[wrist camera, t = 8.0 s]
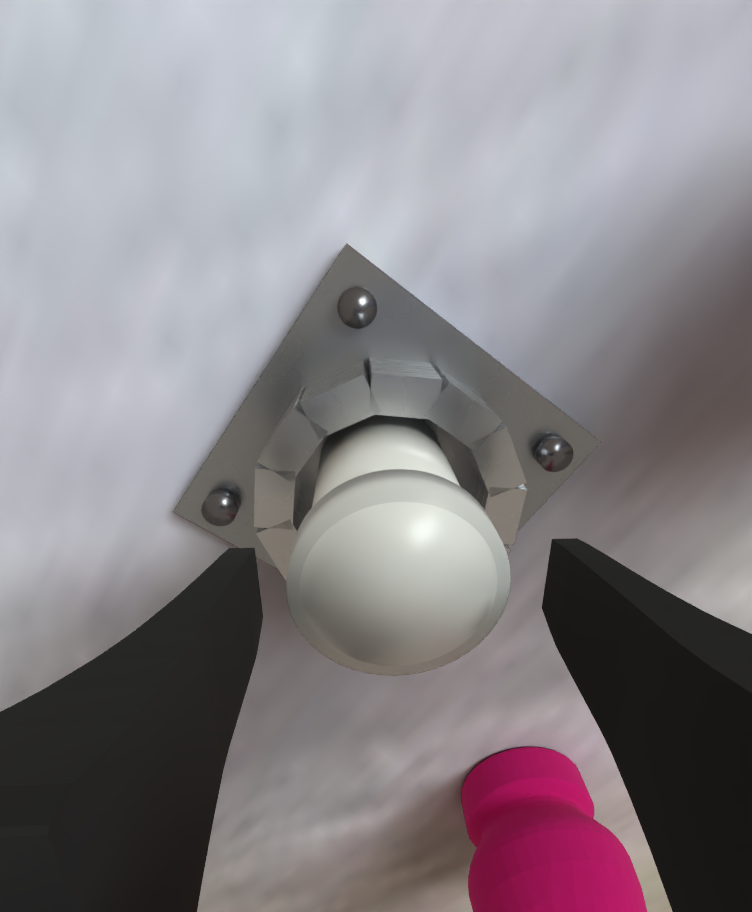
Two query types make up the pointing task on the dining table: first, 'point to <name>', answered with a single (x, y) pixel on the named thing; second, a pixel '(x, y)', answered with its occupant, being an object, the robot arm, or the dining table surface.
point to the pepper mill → (542, 839)
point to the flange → (378, 393)
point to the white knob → (394, 554)
